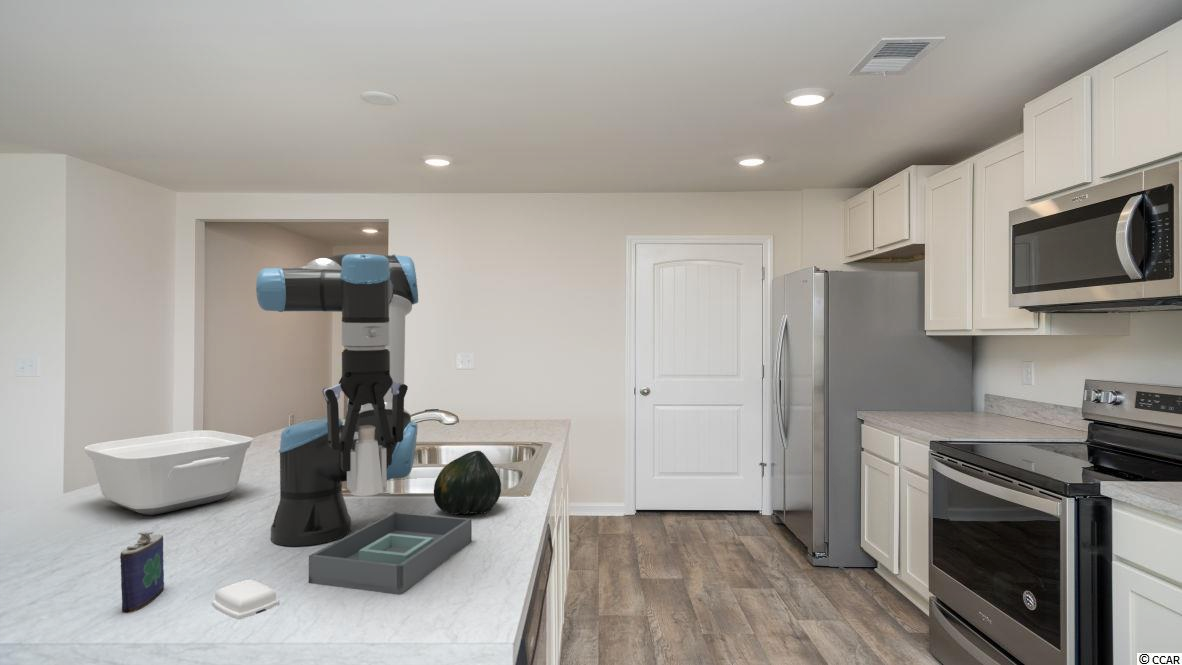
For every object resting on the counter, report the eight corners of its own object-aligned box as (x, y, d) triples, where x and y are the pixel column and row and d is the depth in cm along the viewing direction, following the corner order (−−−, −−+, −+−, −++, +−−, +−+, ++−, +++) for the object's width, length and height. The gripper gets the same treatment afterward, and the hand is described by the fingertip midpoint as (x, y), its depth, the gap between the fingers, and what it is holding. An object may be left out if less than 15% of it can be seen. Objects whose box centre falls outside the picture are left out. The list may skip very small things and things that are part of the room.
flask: (151, 588, 102) (150, 523, 102) (170, 587, 103) (170, 522, 103) (116, 614, 93) (116, 542, 93) (138, 612, 94) (137, 541, 94)
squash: (420, 484, 148) (440, 443, 140) (476, 477, 157) (498, 438, 149) (438, 536, 139) (460, 495, 132) (496, 525, 149) (521, 487, 141)
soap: (208, 607, 96) (208, 588, 96) (253, 591, 102) (253, 574, 102) (237, 623, 91) (237, 603, 91) (283, 606, 97) (282, 587, 97)
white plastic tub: (269, 500, 154) (269, 440, 154) (136, 532, 130) (135, 461, 130) (199, 481, 172) (199, 427, 172) (71, 506, 148) (70, 444, 148)
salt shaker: (344, 496, 102) (343, 429, 102) (357, 486, 107) (356, 423, 107) (377, 496, 102) (376, 429, 101) (388, 487, 107) (388, 423, 107)
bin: (308, 582, 105) (308, 555, 105) (394, 533, 129) (394, 512, 129) (400, 594, 100) (400, 566, 100) (471, 541, 125) (471, 518, 125)
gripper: (315, 351, 96) (317, 502, 97) (424, 347, 106) (425, 484, 107) (304, 348, 102) (306, 490, 103) (409, 345, 112) (409, 474, 113)
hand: (366, 487), depth 105 cm, fingers closed on salt shaker, 4 cm apart
